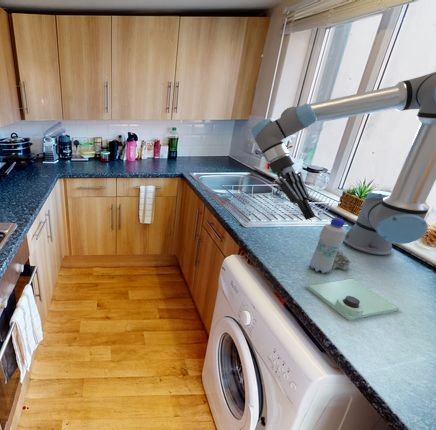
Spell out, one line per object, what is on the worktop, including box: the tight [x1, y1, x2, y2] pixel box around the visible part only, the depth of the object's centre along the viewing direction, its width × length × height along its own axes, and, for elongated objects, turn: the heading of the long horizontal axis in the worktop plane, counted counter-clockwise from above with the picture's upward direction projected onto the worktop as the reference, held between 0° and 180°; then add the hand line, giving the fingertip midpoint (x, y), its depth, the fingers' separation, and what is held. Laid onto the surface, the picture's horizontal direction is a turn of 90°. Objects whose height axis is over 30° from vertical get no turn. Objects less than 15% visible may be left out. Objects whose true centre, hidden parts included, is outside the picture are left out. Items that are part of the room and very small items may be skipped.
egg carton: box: [331, 249, 353, 271], centre depth 106 cm, size 11×8×4 cm
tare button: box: [344, 296, 360, 308], centre depth 81 cm, size 3×3×2 cm
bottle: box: [309, 217, 347, 274], centre depth 98 cm, size 7×7×20 cm
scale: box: [307, 278, 400, 321], centre depth 87 cm, size 18×14×3 cm
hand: (310, 218), depth 100 cm, fingers closed
